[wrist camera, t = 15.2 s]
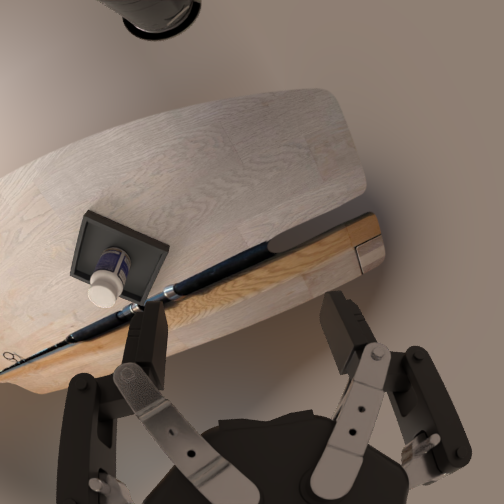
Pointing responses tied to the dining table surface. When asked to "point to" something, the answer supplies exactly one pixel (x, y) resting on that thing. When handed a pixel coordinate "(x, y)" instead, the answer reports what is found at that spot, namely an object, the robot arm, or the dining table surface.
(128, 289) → the serving tray
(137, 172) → the dining table surface
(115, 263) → the pill bottle
